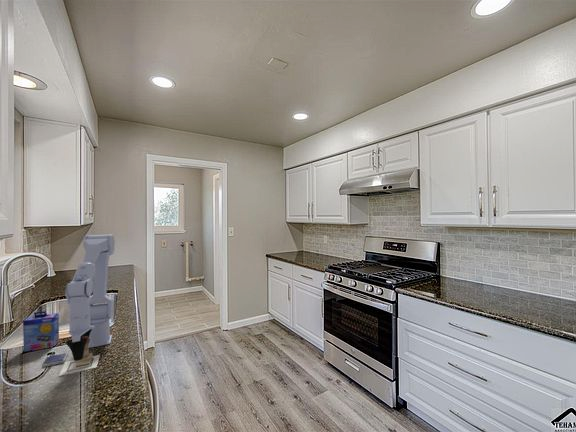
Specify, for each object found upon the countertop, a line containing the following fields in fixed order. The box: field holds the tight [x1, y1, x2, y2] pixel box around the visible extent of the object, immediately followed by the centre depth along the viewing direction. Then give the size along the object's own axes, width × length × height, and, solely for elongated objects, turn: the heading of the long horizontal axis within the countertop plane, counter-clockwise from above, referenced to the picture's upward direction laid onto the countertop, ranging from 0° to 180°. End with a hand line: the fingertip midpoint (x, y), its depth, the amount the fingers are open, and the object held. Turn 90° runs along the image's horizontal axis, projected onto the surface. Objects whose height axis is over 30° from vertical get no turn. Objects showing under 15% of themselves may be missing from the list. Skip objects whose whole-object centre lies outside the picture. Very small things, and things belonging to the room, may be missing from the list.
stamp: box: [76, 336, 93, 367], centre depth 97 cm, size 4×4×9 cm
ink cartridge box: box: [22, 310, 60, 353], centre depth 111 cm, size 10×6×14 cm, turn 113°
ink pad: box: [41, 352, 69, 368], centre depth 99 cm, size 6×6×1 cm
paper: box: [58, 354, 101, 377], centre depth 96 cm, size 10×10×1 cm
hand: (80, 355), depth 96 cm, fingers open, 7 cm apart
